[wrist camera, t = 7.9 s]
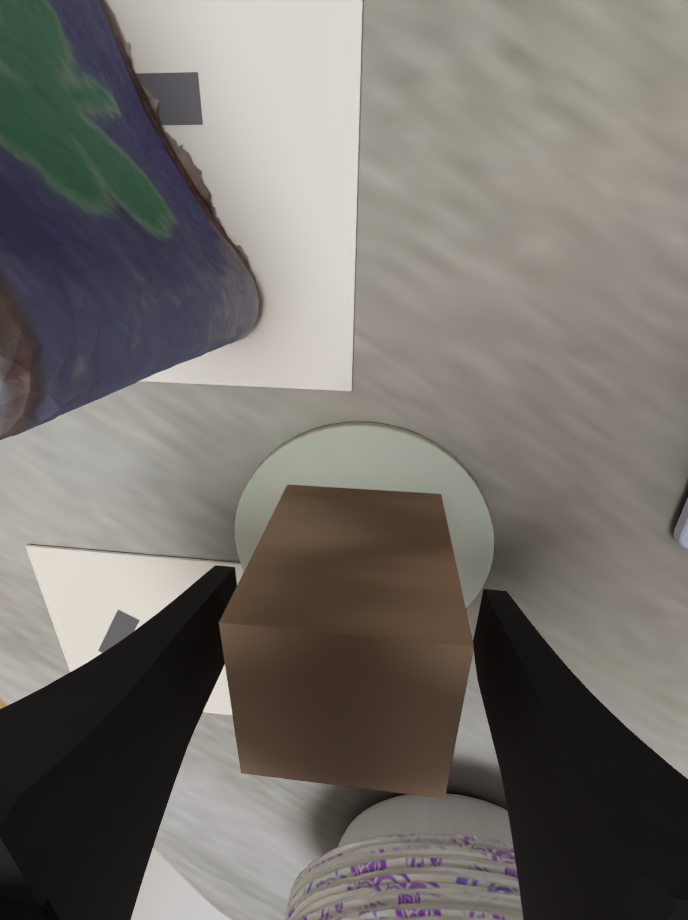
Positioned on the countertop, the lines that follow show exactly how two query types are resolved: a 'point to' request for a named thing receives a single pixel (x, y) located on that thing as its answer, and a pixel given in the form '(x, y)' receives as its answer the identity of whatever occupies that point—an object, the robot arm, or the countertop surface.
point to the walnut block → (350, 642)
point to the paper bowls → (415, 865)
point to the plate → (373, 486)
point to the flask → (98, 223)
